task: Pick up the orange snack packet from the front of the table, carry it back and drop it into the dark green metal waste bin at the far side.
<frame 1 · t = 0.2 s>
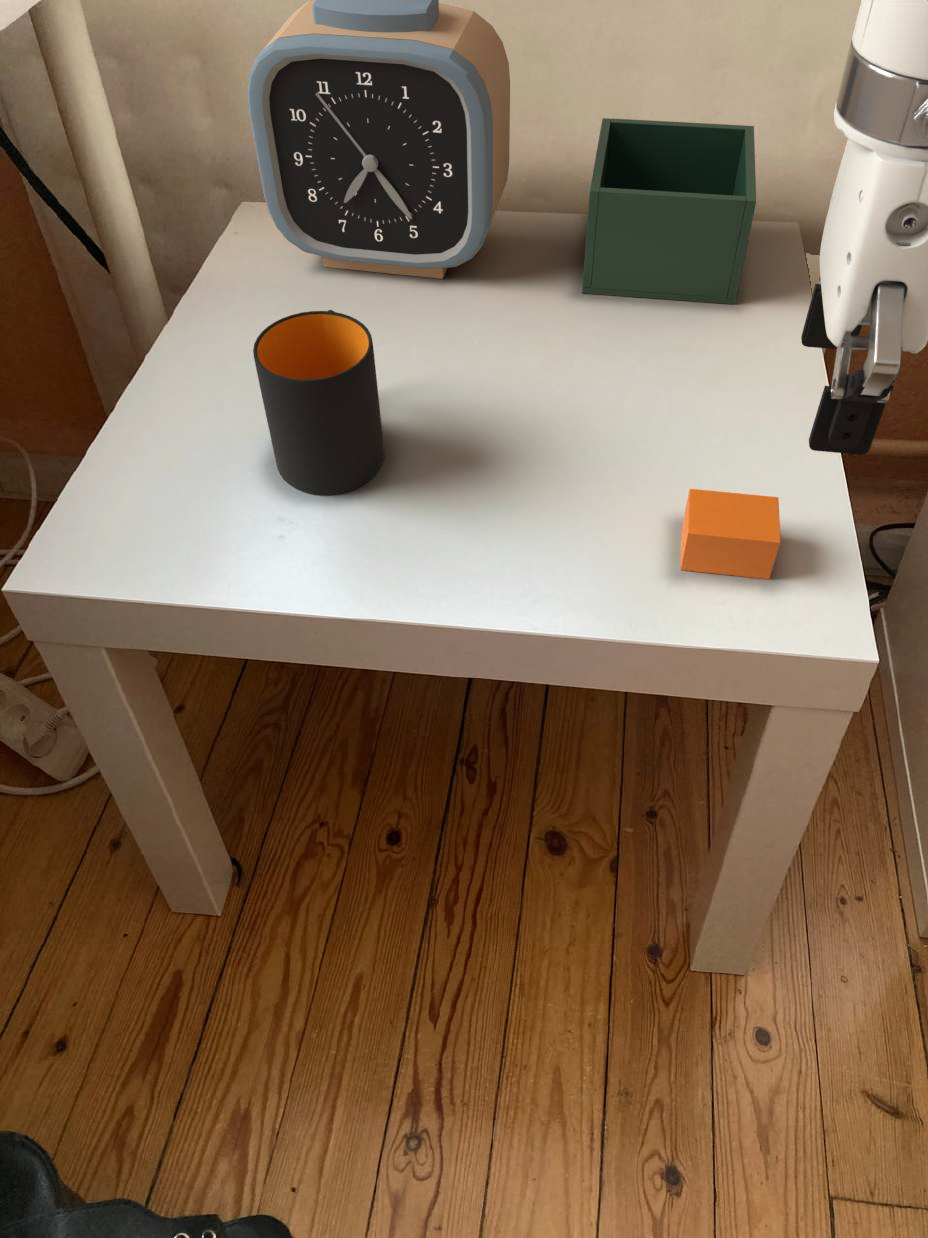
hand: (831, 394, 60), 14 cm above the table, tool pointing down, fingers open, 9 cm apart
bin: (661, 258, 96), on the table
alarm clock: (393, 253, 98), on the table
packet: (724, 551, 72), on the table
mug: (334, 444, 80), on the table
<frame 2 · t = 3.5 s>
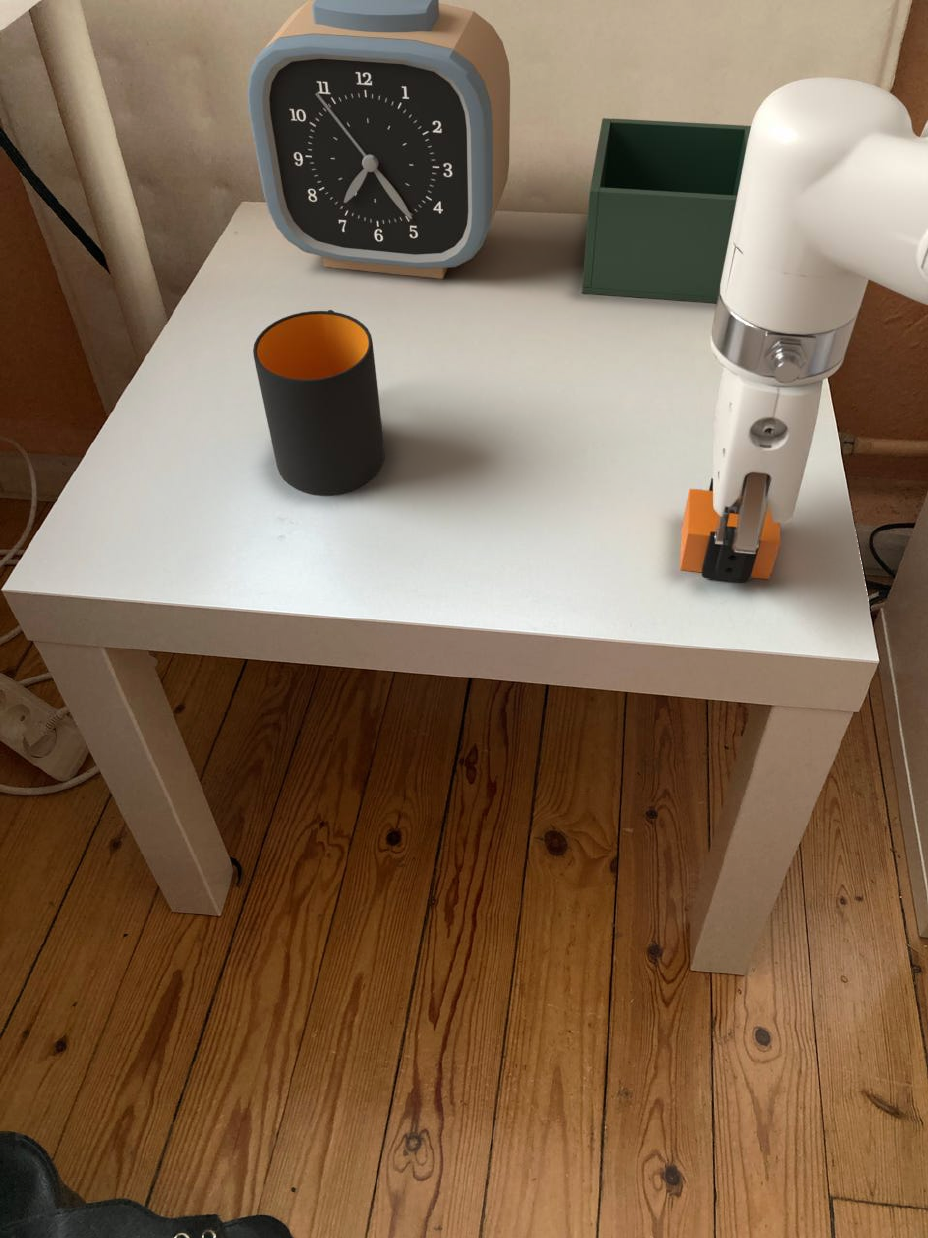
hand: (725, 548, 71), 0 cm above the table, tool pointing down, fingers closed on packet, 4 cm apart
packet: (724, 551, 72), on the table, touching gripper
everything else where it was.
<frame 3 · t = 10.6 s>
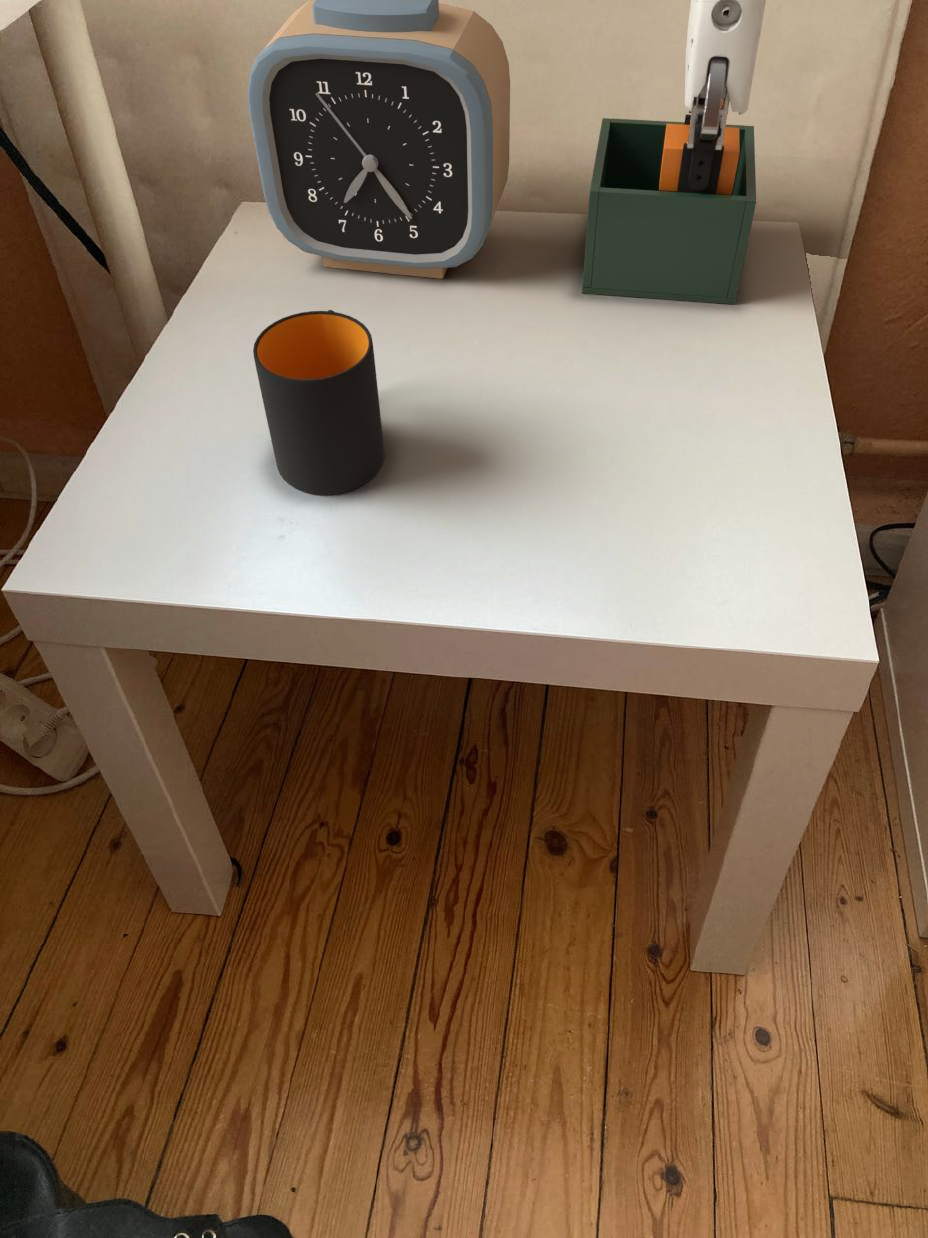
hand: (697, 175, 87), 9 cm above the table, tool pointing down, fingers closed on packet, 4 cm apart
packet: (695, 179, 87), point 9 cm above the table, touching gripper
everything else where it was.
when the fingers open (9 cm above the table, at t = 10.7 s): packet drops 9 cm, resting on bin.
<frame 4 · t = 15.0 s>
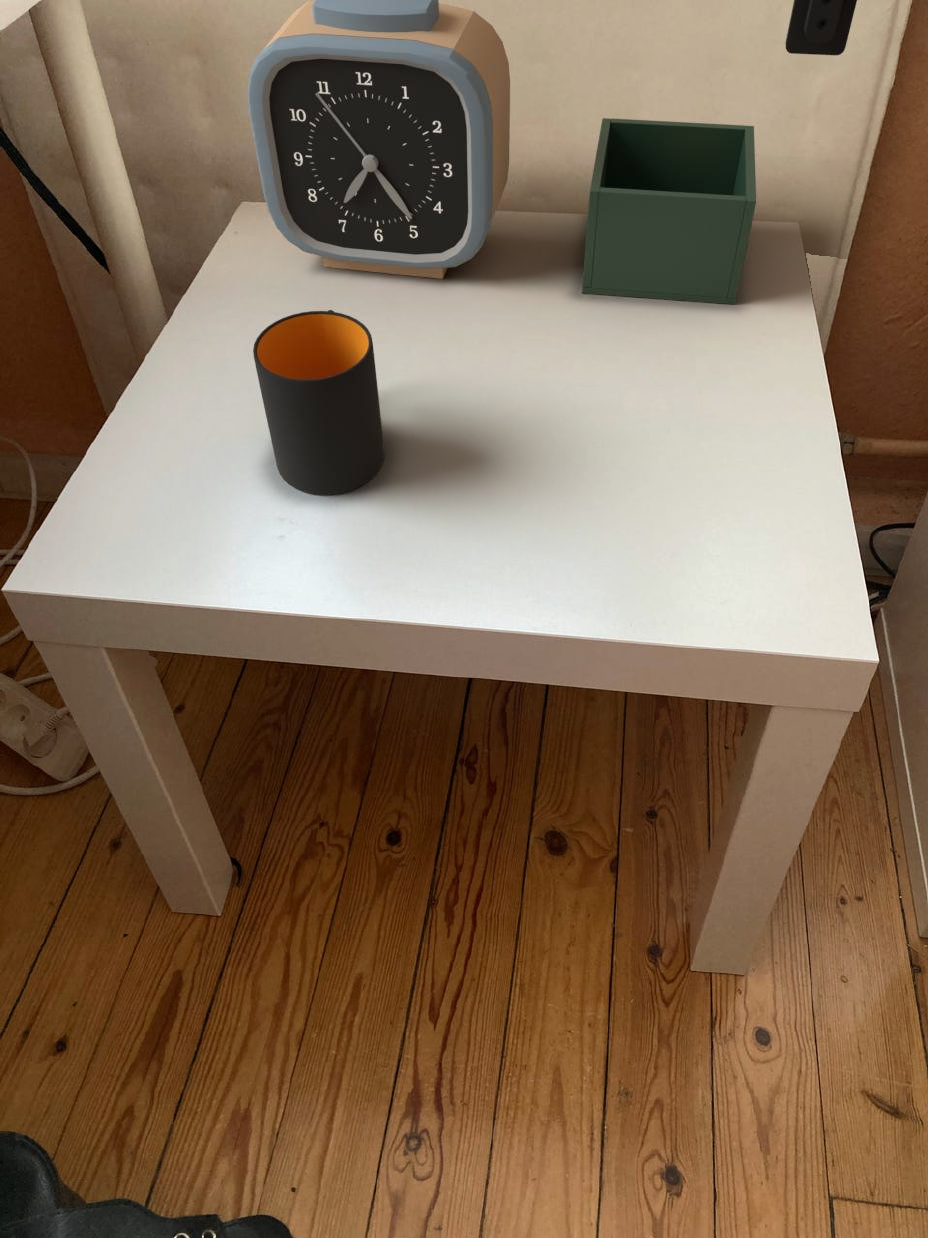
hand: (809, 18, 60), 28 cm above the table, tool pointing down, fingers open, 9 cm apart
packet: (682, 269, 93), point 1 cm above the table, touching bin
everything else where it was.
at the end: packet inside the target area in the bin (3.3 cm from its centre), point 0.6 cm above the bin's base; the gripper is holding nothing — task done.
